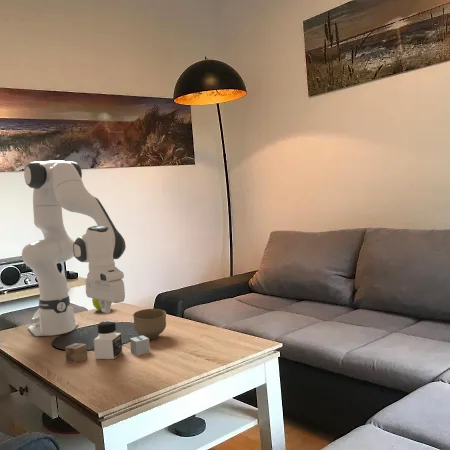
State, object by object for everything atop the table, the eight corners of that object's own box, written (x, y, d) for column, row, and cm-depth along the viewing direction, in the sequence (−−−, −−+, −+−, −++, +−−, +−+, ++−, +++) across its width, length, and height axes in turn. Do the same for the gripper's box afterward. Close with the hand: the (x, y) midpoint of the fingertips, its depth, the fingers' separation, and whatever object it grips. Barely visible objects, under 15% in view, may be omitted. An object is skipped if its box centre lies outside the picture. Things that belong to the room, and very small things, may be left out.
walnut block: (66, 361, 169) (65, 346, 169) (77, 356, 174) (76, 342, 173) (76, 363, 167) (75, 348, 166) (87, 358, 171) (86, 343, 171)
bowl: (144, 345, 181) (142, 319, 180) (129, 338, 191) (127, 312, 190) (173, 337, 188) (172, 312, 187) (158, 330, 198) (156, 306, 198)
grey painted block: (131, 352, 175) (129, 337, 174) (143, 348, 178) (142, 334, 177) (136, 355, 171) (135, 341, 170) (149, 352, 173) (148, 337, 173)
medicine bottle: (114, 359, 168) (111, 325, 167) (94, 359, 169) (92, 325, 168) (122, 352, 175) (120, 319, 174) (104, 352, 176) (101, 319, 175)
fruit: (89, 312, 235) (87, 292, 234) (100, 307, 244) (98, 287, 243) (106, 313, 232) (104, 292, 231) (116, 308, 241) (114, 288, 240)
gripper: (79, 272, 175) (83, 310, 176) (110, 277, 160) (113, 318, 161) (95, 269, 179) (98, 306, 180) (126, 273, 165) (130, 314, 166)
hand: (106, 312), depth 171 cm, fingers closed
